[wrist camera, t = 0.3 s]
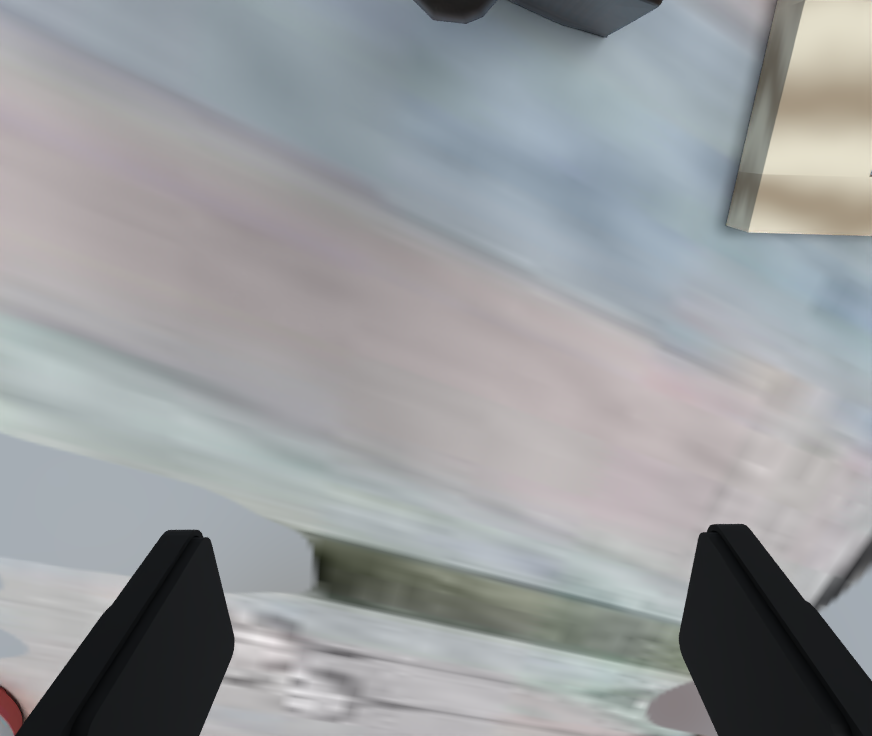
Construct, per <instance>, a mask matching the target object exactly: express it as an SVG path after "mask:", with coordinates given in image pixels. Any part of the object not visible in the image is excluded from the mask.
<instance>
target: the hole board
mask: <svg viewBox="0 0 872 736" xmlns="http://www.w3.org/2000/svg"><path fill="white" fill-rule="evenodd" d="M871 170H872V0H777V4H776V9H775V13H774V18H773V22H772V26H771V31H770V35H769V39H768V44H767V48H766V53H765V57H764V61H763V66H762V70H761V74H760V79H759V83H758V88H757V92H756V96H755V101H754V105H753V109H752V114H751V118H750V122H749V127H748V131H747V136H746V140H745V144H744V149H743V153H742V157H741V162H740V166H739V171H738V175H737V179H736V184H735V188H734V192H733V197H732V201H731V205H730V210H729V214H728V219H727V223H726V226H729V227H733V228H736V229H739V230H742V231H745V232H752V233H787V234H822V235H857V236H872V175H870V173H871Z"/></svg>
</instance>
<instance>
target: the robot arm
mask: <svg viewBox="0 0 872 736" xmlns="http://www.w3.org/2000/svg"><path fill="white" fill-rule="evenodd" d="M679 645H680V650H681V653H682V656H683V659H684V661H685V663H686V665H687V668H688V670H689V672H690V674H691V676H692V679H693V681H694V683H695V685H696V687H697V689H698V692H699V694H700V696H701V699H702V701H703V703H704V705H705V707H706V709H707V712H708V714H709V716H710V718H711V721H712V723H713V725H714V727H715V730H716V732H717V734H718V736H872V681H871V679H870V678H869V677H868V676H867V674H866V673H865V672H864V671H863V669H862V668H861V667H860V665H859V664H858V663H857V662H856V660H855V659H854V658H853V656H852V655H851V654H850V653H849V651H848V650H847V649H846V647H845V646H844V645H843V644H842V642H841V641H840V640H839V638H838V637H837V636H836V635H835V633H834V632H833V631H832V629H831V628H830V627H829V626H828V624H827V623H826V622H825V620H824V619H823V618H822V617H821V615H820V614H819V613H818V611H817V610H816V609H815V608H814V607H813V606H812V605H811V604H810V603H809V602H807V601H805V600H804V599H803V597H802V596H801V595H800V593H799V592H798V591H797V589H796V588H795V587H794V586H793V584H792V583H791V582H790V580H789V579H788V578H787V576H786V575H785V574H784V573H783V571H782V570H781V569H780V567H779V566H778V565H777V563H776V562H775V561H774V560H773V558H772V557H771V556H770V554H769V553H768V552H767V551H766V549H765V548H764V547H763V545H762V544H761V543H760V541H759V540H758V539H757V538H756V536H755V535H754V534H753V532H752V531H751V530H750V529H749V528H748V527H747V526H746V525H744V524H713V525H710V527H709V528H708V530H707V532H703V533H701V534H700V535H699V538H698V543H697V548H696V553H695V558H694V563H693V568H692V573H691V578H690V583H689V588H688V593H687V598H686V603H685V608H684V613H683V618H682V623H681V628H680V633H679ZM233 651H234V634H233V630H232V625H231V621H230V617H229V613H228V609H227V605H226V601H225V597H224V592H223V588H222V584H221V580H220V576H219V572H218V568H217V564H216V560H215V555H214V551H213V547H212V544H211V540H210V539H209V538H207V537H205V538H204V537H203V536H202V533H201V532H200V531H199V530H168V531H166V532H165V533H164V534H163V535H162V536H161V537H160V539H159V540H158V542H157V543H156V544H155V546H154V547H153V549H152V550H151V551H150V553H149V554H148V556H147V557H146V558H145V560H144V561H143V562H142V564H141V565H140V567H139V568H138V569H137V571H136V572H135V574H134V575H133V576H132V578H131V579H130V580H129V582H128V583H127V585H126V586H125V587H124V589H123V590H122V592H121V593H120V594H119V596H118V597H117V599H116V600H115V601H114V603H113V604H112V605H111V606H110V607H109V608H108V609H107V610H106V611H105V612H104V613H103V615H102V616H101V617H100V619H99V620H98V621H97V623H96V624H95V626H94V627H93V628H92V630H91V631H90V633H89V634H88V635H87V637H86V638H85V639H84V641H83V642H82V644H81V645H80V646H79V648H78V649H77V650H76V652H75V653H74V655H73V656H72V657H71V659H70V660H69V661H68V663H67V664H66V666H65V667H64V668H63V670H62V671H61V672H60V674H59V675H58V677H57V678H56V679H55V681H54V682H53V684H52V685H51V686H50V688H49V689H48V690H47V692H46V693H45V695H44V696H43V697H42V699H41V700H40V701H39V703H38V704H37V706H36V707H35V708H34V710H33V711H32V712H31V714H30V715H29V717H28V718H27V719H26V721H25V722H24V724H23V725H22V726H21V728H20V729H19V730H18V732H17V733H16V735H15V736H199V735H200V732H201V730H202V728H203V725H204V723H205V720H206V718H207V716H208V713H209V711H210V708H211V706H212V704H213V701H214V699H215V696H216V694H217V692H218V689H219V687H220V684H221V682H222V680H223V677H224V675H225V673H226V670H227V668H228V665H229V663H230V661H231V658H232V655H233Z"/></svg>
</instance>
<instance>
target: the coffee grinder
mask: <svg viewBox="0 0 872 736" xmlns="http://www.w3.org/2000/svg"><path fill="white" fill-rule="evenodd" d="M414 1H415V2H416V3H417V4H418V5H419V6H420V7H421V8H422V9H423V10H424V11H425V12H426V13H427V14H428V15H429V16H430V17H431V18H432V19H433V20H437V21H446V22H455V23H464V24H467V23H469V22H472V21H474V20H476V19H479V18H481V17H483V16H484V15H485V14H486V12H487V11H488V10H489V9H490V8H491V7H492V6H493V4H494V3H495V2H496V1H497V0H414ZM509 1H511V2H513V3H515V4H518V5H520V6H522V7H524V8H526V9H528V10H530V11H533V12H535V13H537V14H539V15H541V16H544V17H546V18H548V19H550V20H552V21H555V22H557V23H559V24H561V25H565V26H568V27H572V28H576V29H580V30H583V31H587V32H590V33H593V34H597V35H600V36H603V37H606V38H607V36H608V35H609V34H611V33H613V32H615V31H617V30H619V29H621V28H622V27H624V26H626V25H628V24H630V23H631V22H633V21H635V20H637V19H638V18H640V17H642V16H643V15H645V14H647V13H649V12H650V11H652V10H654V9H655V8H657V7H658V6H659V5H660V4H661V3H662V1H663V0H509Z"/></svg>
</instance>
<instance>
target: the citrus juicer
mask: <svg viewBox="0 0 872 736" xmlns="http://www.w3.org/2000/svg"><path fill="white" fill-rule="evenodd" d="M21 726H22V715H21V712H20V710H19V708H18V706H17V705H16V703H15V702H14V701H13V700H12V699H11V697H9V696H8V695H7V693H6V691H5V690H4V689H3V688H1V687H0V736H15V735H16V733H17V732H18V730H19V729H20V728H21Z"/></svg>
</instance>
